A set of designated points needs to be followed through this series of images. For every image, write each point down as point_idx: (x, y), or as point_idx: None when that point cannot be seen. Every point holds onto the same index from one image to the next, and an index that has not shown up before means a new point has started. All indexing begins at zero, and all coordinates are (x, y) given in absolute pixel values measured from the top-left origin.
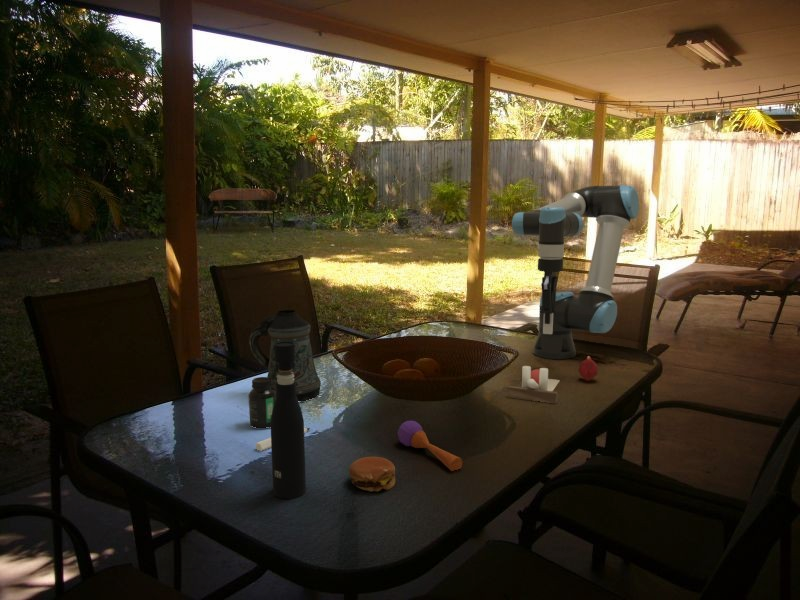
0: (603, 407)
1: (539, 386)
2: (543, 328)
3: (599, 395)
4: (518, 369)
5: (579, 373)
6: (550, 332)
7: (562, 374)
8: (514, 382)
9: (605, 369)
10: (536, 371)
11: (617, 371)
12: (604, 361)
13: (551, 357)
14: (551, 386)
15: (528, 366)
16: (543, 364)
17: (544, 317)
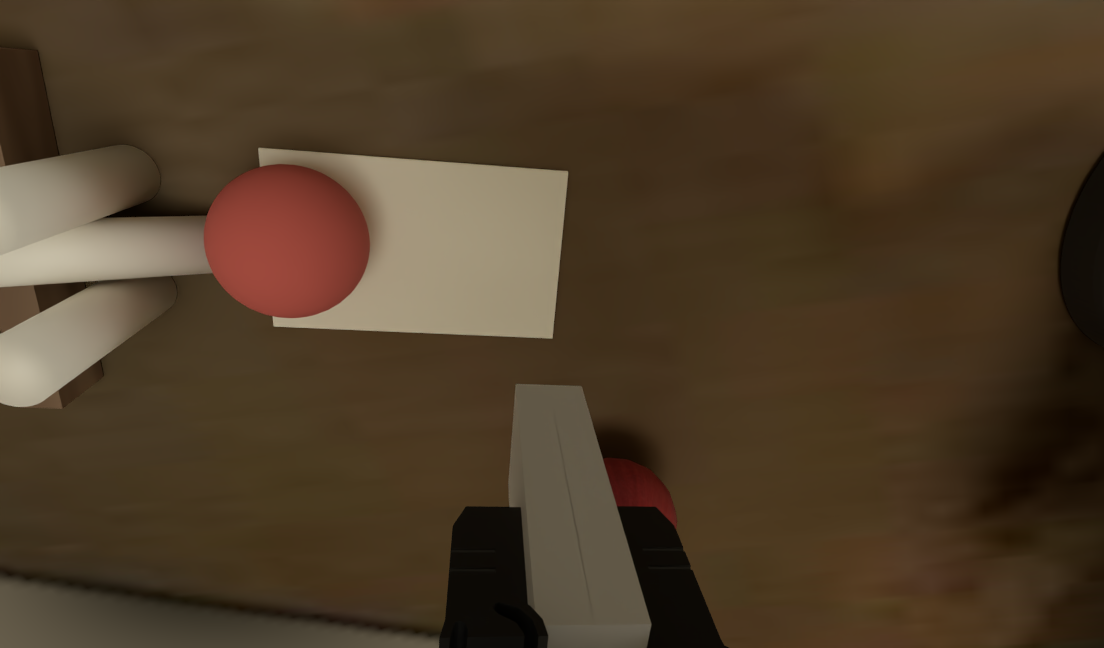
0: (166, 581)
1: (78, 292)
2: (518, 428)
3: (358, 548)
4: (760, 10)
5: (604, 459)
6: (511, 486)
7: (703, 333)
8: (394, 39)
9: (859, 528)
10: (232, 259)
11: (829, 578)
12: (1025, 509)
13: (1079, 221)
14: (393, 309)
15: (2, 232)
16: (928, 182)
17: (525, 566)
